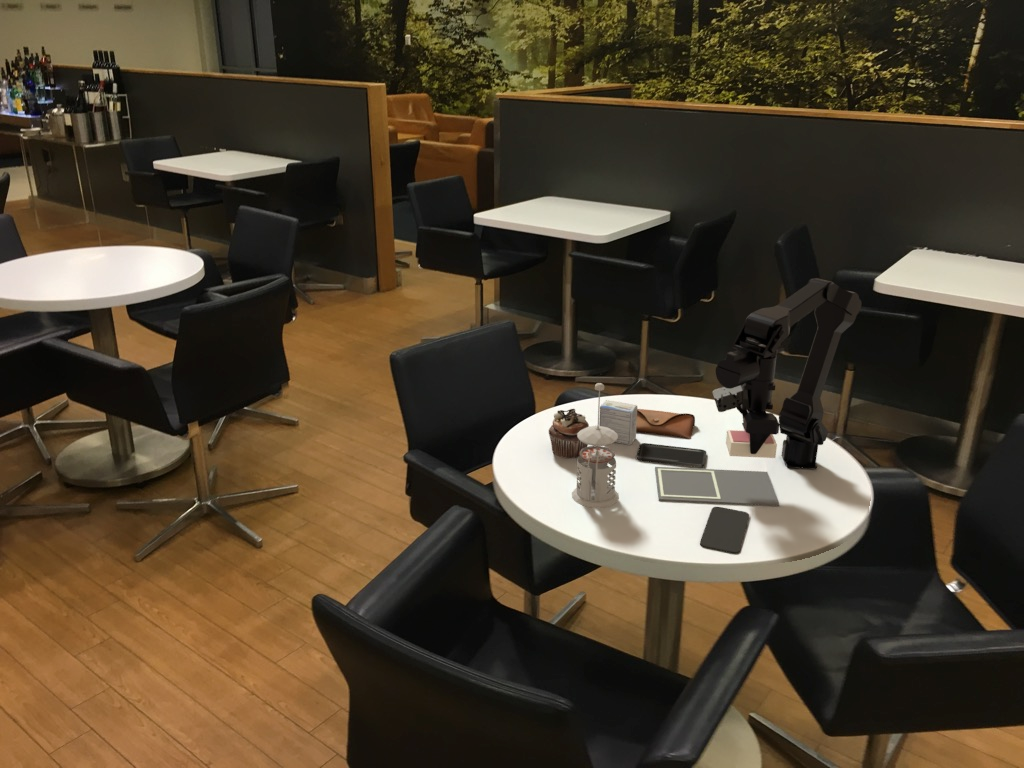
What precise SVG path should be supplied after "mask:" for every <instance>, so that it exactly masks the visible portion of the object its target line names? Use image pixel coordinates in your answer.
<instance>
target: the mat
mask: <svg viewBox="0 0 1024 768" xmlns="http://www.w3.org/2000/svg"><path fill="white" fill-rule="evenodd" d="M654 471H655V479H656V489H657V496H658V497H657V498H658V501H661V502H677V503H679V502H681V503H698V504H699V503H702V504H705V503H706V504H719V505H720V504H721V505H738V506H739V505H741V506H742V505H743V506H760V507H761V506H763V507H780V506H781V505H780V502H779V499H778V497H777V494H776V491H775V488H774V486H773V483H772V480H771V478H770V475H769V472H768V471H756V470H737V469H736V470H735V469H711V468H710V469H709V468H695V467H671V466H670V467H669V466H667V467H666V466H655V467H654Z"/></svg>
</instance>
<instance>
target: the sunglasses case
mask: <svg viewBox="0 0 1024 768" xmlns="http://www.w3.org/2000/svg"><path fill="white" fill-rule="evenodd" d="M695 423H696V418H695V415H694V414H692V413H679V412H678V413H677V412H671V411H662V410H654V409H643V408H637V424H636V433H638V434H639V433H641V434H650V435H658V436H659V435H660V436H665V437H666V436H667V437H674V438H683V439H685V440H688V439H689V440H691V439H692V435H693V431H694V427H695V425H696V424H695Z"/></svg>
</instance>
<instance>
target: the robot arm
mask: <svg viewBox="0 0 1024 768" xmlns="http://www.w3.org/2000/svg"><path fill="white" fill-rule="evenodd" d="M862 305H863V304H862V300H861V299H860V296H859V294H858V292H854V291H850V290H847V289H844V288H842V287H840V286H839V285H837V284H836V283H835V282H833V281H830V280H825V279H821V278H819V277H818V278H817V277H816V278H815V277H814V278H810V279H809V280H808V281H807V284H806V285H804V286H803V287H802V288H800V289H798V290H797V291H796V292H794V293H792V294H791V295H790V296H788V297H787V298H786V299H784V300H782V301H781V302H780V303H778V304H776V305H774V306H771V307H763V308H760V309H757V310H755V311H752V312H751V313H750V314H749V315H748V316H747V317H746V319H745V320H744V322H743V323H742V325H741V326H740V329H739V330H738V333H737V335H736V337H735V338H734V341H733V342H732V344H731V348H733V349H735V351H729V352H727V353H726V354H725V358H724V359H722V360H720V361H719V362H718V363H717V366H715V376H716V379H717V381H718V383H719V384H720V385H721V386H722V387H719V388H714V390H712V392H711V393H712V395H713V398H714V399H713V400H714V403H715V405H716V409H717V411H718V412H719V413H724V412H727V411H729V410H733V409H737V410H738V412H739V413H740V414H741V416H742V421H743V422H742V423H741V424H742V425H741V426H742V427H743V431H745V432H747V433H749V443H750V453H751V454H756V453H757V452H758V450H759V449H760V448H761V446H762V445H763V443H764V442H765V441H766V439H767V438H768V437H769V436H770V434H773V435H778V434H779V431H780V434H782V435H785V436H786V438H785V439H784V440H783V442H782V449H781V455H780V456H781V458H782V460H783V462H784V463H785V466H786V467H787V468H789V469H790V468H792V469H811V470H817V469H818V464H817V457H818V456H817V455H818V450H819V446H822V445H824V442H825V441H826V440H827V439H828V434H829V430H828V429H827V428H826V426H825V424H824V423H823V422H822V421H823V418H824V408H823V404H822V400H821V397H822V395H823V390H824V388H825V385H826V382H827V378H828V375H829V373H830V369H831V367H832V363H833V360H834V357H835V355H836V352H837V348H838V345H839V342H840V339H841V337H842V334H843V333H844V332H845V331H846V330H847V329H849V328H850V327H851V326H852V325H853V324H854V322H855V321H856V318H857V316H858V314H859V313H860V311H861V308H862ZM813 311H814V317H815V321H816V324H817V329H816V333H815V335H814V338H813V342H812V343H811V344H812V345H811V348H810V351H809V353H808V357H807V359H806V363H805V366H804V369H803V372H802V375H801V378H800V382H799V384H798V388H797V390H796V392H795V393H793V395H792V396H790V397H786V398H784V400H783V403H782V407H781V410H780V411H779V414H778V418H777V416H776V415H774V413H773V412H767V411H766V410H769V411H770V410H773V409H774V408H773V407H774V404H773V402H772V396H773V391H776V383H775V382H774V379H775V373H776V367H777V366H776V365H777V357H778V354H779V353H782V352H783V351H784V347H783V346H781V344H782V343H783V342H784V341H785V340H786V339H787V338H788V337H789V335H790V331H791V328H792V327H793V326H794V325H795V324H797V322H799V321H800V320H802V319H803V318H805V317H806V316H807V315H809V314H810V313H812V312H813ZM746 340H748V341H750V342H748V341H746ZM752 342H754V343H752ZM755 343H756V344H755Z"/></svg>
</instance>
